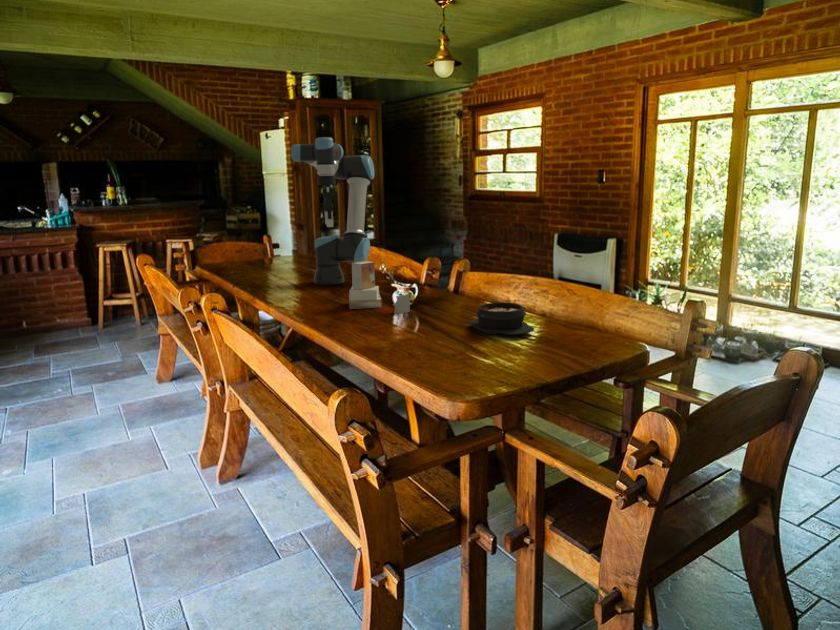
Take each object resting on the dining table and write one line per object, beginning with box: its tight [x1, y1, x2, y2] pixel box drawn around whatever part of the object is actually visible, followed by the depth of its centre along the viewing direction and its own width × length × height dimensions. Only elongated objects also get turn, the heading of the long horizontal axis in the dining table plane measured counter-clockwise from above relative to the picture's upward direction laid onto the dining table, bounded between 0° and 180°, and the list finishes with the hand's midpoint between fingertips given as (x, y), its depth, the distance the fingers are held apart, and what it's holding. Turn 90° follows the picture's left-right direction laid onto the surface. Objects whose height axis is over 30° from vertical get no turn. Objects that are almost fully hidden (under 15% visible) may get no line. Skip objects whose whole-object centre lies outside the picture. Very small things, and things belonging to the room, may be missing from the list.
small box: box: [351, 260, 376, 289], centre depth 246 cm, size 8×6×10 cm
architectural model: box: [392, 294, 412, 315], centre depth 235 cm, size 3×7×7 cm, turn 123°
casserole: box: [468, 302, 535, 336], centre depth 204 cm, size 25×19×8 cm
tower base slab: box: [348, 293, 383, 310], centre depth 248 cm, size 11×13×4 cm
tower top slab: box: [348, 285, 380, 300], centre depth 247 cm, size 9×11×4 cm
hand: (329, 225), depth 260 cm, fingers open, 13 cm apart
